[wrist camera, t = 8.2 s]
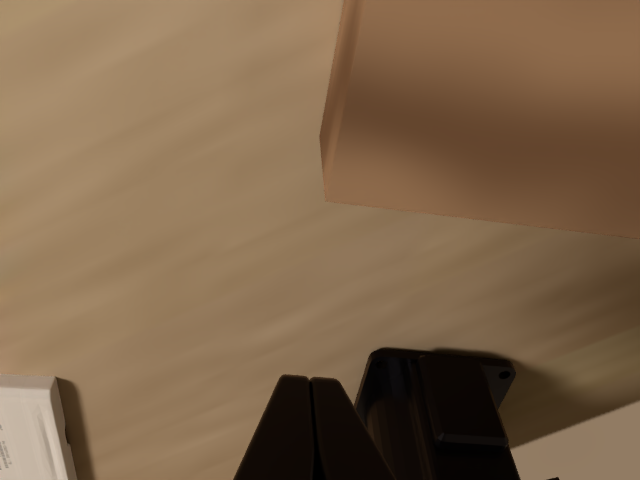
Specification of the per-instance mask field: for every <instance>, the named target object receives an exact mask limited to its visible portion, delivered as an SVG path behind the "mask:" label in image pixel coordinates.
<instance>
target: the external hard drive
mask: <svg viewBox="0 0 640 480" xmlns="http://www.w3.org/2000/svg"><path fill="white" fill-rule="evenodd" d="M65 426H66V423H65V418H64V413H63V408H62V403H61V399H60V394H59V389H58V384H57V379H56V377H55V376H37V375H15V374H0V480H77V475H76V471H75V466H74V461H73V456H72V452H71V447H70V444H68V443H67V440H66V436H65Z"/></svg>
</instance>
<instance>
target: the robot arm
mask: <svg viewBox="0 0 640 480" xmlns="http://www.w3.org/2000/svg"><path fill="white" fill-rule="evenodd" d="M378 361H382V362H378ZM503 371H504V372H503ZM515 375H516V372H515V369H514V367H513V364H512V363H511V362H510V361H506V360H496V359H485V358H474V357H462V356H451V355H439V354H428V353H417V352H405V351H394V350H376V351H374V352H372V353H371V354H370V356H369V358H368V361H367V364H366V368H365V371H364V374H363V378H362V381H361V384H360V387H359V391H358V394H357V397H356V401H355V404H354V406H353V404H352V402H351V400H350V399H349V397H348V395H347V394H346V392H345V390H344V388H343V387H342V385H341V383H340V382H339V381H338V380H337V379H334V378H323V377H312V378H311V379H310V380H309V379H308V378H307V377H306V376H299V375H286V374H285V375H282V376H281V377H280V378H279V380H278V383H277V385H276V387H275V389H274V391H273V393H272V396H271V398H270V400H269V402H268V404H267V407H266V409H265V411H264V413H263V415H262V418H261V420H260V422H259V424H258V426H257V429H256V431H255V433H254V435H253V437H252V440H251V442H250V444H249V446H248V448H247V451H246V453H245V455H244V457H243V459H242V461H241V464H240V466H239V468H238V470H237V472H236V475H235V477H234V479H233V480H520V477H519V474H518V471H517V469H516V466H515V463H514V460H513V457H512V454H511V451H510V448H509V445H508V437H507V434H506V432H505V429H504V426H503V423H502V420H501V417H500V414H499V412H498V408H499V406H500V404H501V402H502V401H503V399H504V397H505V395H506V393H507V391H508V389H509V387H510V385H511V383H512V381H513V379H514V378H515ZM548 480H559V478H558V477H556V478H552V479H548Z"/></svg>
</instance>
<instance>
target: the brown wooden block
mask: <svg viewBox="0 0 640 480" xmlns="http://www.w3.org/2000/svg"><path fill="white" fill-rule="evenodd" d="M320 147H321V158H322V169H323V180H324V191H325V201H327V202H336V203H344V204H352V205H361V206H369V207H377V208H386V209H394V210H402V211H411V212H419V213H427V214H436V215H444V216H452V217H461V218H469V219H477V220H486V221H494V222H502V223H511V224H519V225H527V226H536V227H544V228H552V229H561V230H569V231H578V232H586V233H594V234H603V235H611V236H619V237H628V238H636V239H640V0H344V4H343V10H342V15H341V21H340V26H339V32H338V37H337V43H336V48H335V54H334V59H333V65H332V70H331V76H330V81H329V87H328V92H327V98H326V103H325V109H324V115H323V120H322V126H321V131H320Z"/></svg>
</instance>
